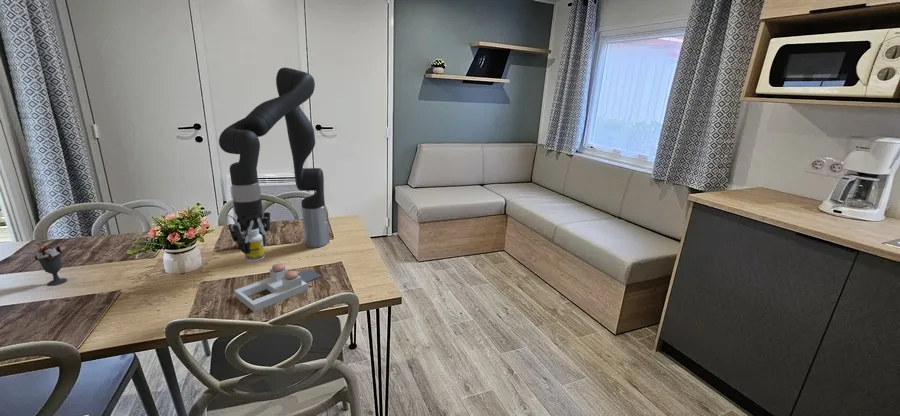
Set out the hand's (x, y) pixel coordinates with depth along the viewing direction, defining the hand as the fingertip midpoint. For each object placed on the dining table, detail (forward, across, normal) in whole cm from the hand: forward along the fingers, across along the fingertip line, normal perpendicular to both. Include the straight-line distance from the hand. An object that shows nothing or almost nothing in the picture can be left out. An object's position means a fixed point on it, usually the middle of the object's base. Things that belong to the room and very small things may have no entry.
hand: (254, 249), depth 121 cm
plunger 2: (+14, +7, -7) cm, 17 cm away
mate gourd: (+18, +28, +36) cm, 49 cm away
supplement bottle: (+3, 0, 0) cm, 3 cm away
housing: (+17, +3, -2) cm, 18 cm away
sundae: (+17, -18, +69) cm, 74 cm away
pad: (+17, +17, -4) cm, 24 cm away
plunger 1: (+14, +9, +1) cm, 17 cm away
